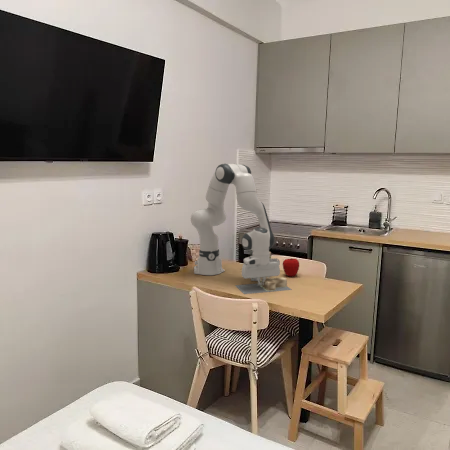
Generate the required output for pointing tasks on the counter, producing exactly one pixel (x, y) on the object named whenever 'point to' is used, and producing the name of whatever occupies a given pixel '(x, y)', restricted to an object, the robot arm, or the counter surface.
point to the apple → (291, 267)
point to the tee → (274, 283)
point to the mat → (257, 288)
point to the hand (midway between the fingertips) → (260, 285)
